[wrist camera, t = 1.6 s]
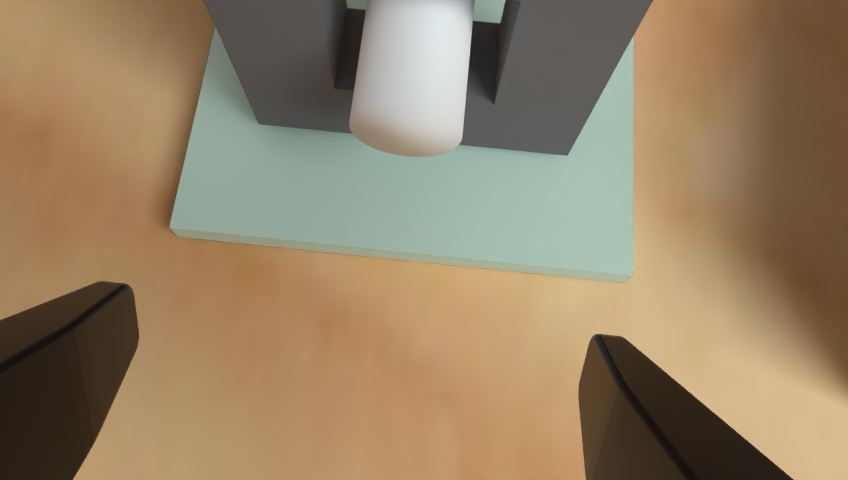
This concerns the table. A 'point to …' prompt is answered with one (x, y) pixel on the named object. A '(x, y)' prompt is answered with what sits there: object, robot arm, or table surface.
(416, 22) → the pipe rig
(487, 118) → the grey arch frame
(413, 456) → the table surface
